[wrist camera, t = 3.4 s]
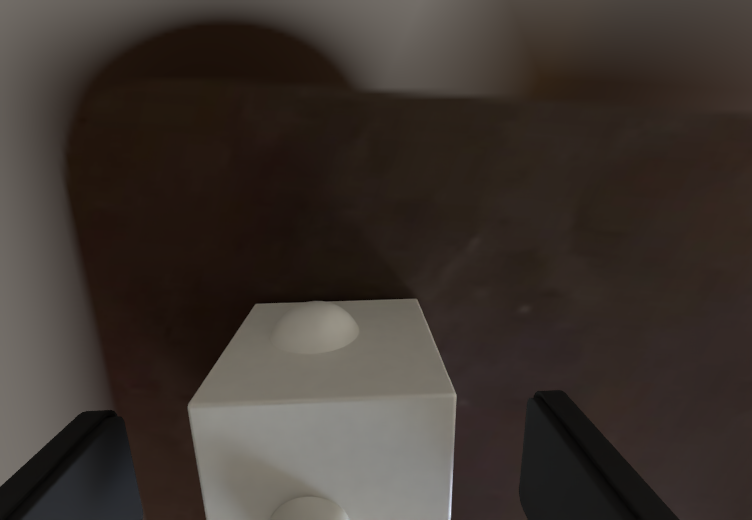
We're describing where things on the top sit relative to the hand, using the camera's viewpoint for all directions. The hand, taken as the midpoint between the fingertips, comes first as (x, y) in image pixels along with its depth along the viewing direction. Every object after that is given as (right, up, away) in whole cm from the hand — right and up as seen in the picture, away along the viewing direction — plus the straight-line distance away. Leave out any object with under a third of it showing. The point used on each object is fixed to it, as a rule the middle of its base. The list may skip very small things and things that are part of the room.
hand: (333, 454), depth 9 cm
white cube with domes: (0, +1, +3) cm, 3 cm away
